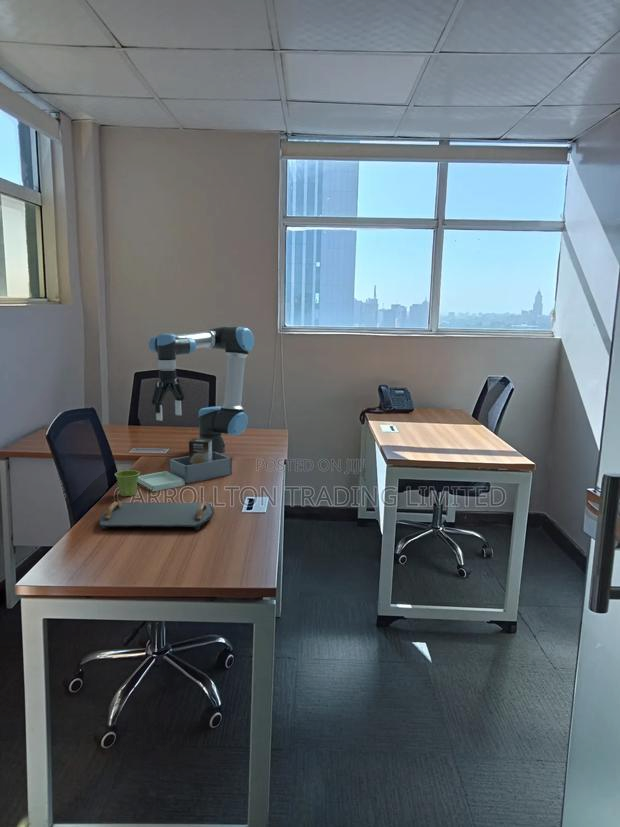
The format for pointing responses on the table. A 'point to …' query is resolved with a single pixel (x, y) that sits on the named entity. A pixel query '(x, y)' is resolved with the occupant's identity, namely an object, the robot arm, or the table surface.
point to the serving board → (156, 515)
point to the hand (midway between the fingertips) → (169, 417)
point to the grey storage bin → (201, 468)
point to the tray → (160, 481)
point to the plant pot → (127, 482)
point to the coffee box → (200, 451)
